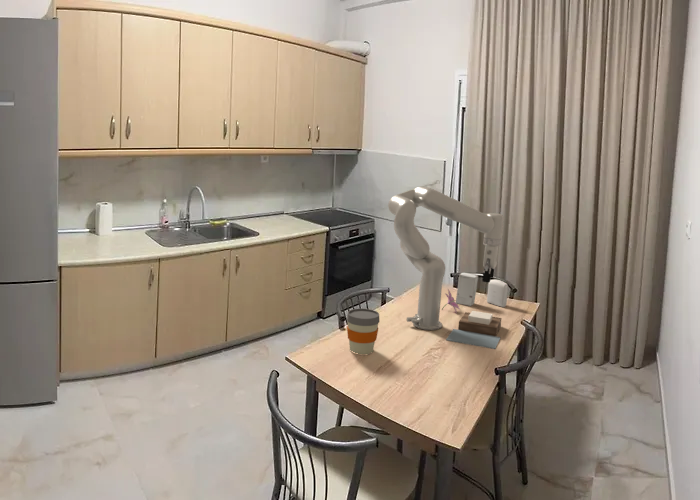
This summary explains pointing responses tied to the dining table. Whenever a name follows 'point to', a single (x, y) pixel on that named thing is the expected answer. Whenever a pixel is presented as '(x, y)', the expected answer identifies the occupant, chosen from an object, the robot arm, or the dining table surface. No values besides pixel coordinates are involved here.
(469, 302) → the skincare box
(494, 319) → the block
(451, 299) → the lily
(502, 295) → the photo printer
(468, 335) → the mat
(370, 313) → the reusable coffee cup
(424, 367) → the dining table surface
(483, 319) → the tile
